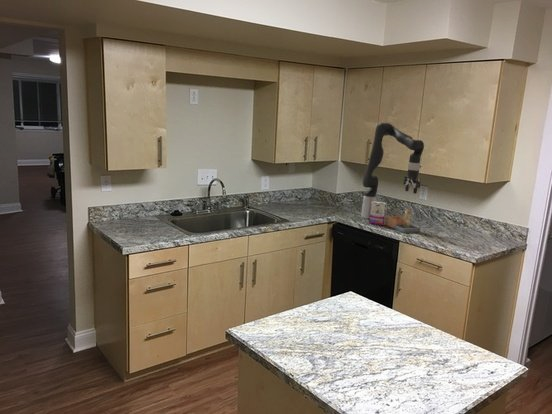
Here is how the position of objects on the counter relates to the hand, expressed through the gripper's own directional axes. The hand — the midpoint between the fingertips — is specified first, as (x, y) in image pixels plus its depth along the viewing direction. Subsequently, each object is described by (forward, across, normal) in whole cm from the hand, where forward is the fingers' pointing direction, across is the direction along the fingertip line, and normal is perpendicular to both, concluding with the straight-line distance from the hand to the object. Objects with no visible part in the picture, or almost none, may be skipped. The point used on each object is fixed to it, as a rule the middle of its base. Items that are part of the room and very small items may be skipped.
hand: (410, 192), depth 318 cm
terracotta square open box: (+28, -11, 0) cm, 30 cm away
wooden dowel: (+27, 0, 0) cm, 27 cm away
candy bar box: (+28, -21, -10) cm, 36 cm away
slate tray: (+28, 0, 0) cm, 28 cm away
